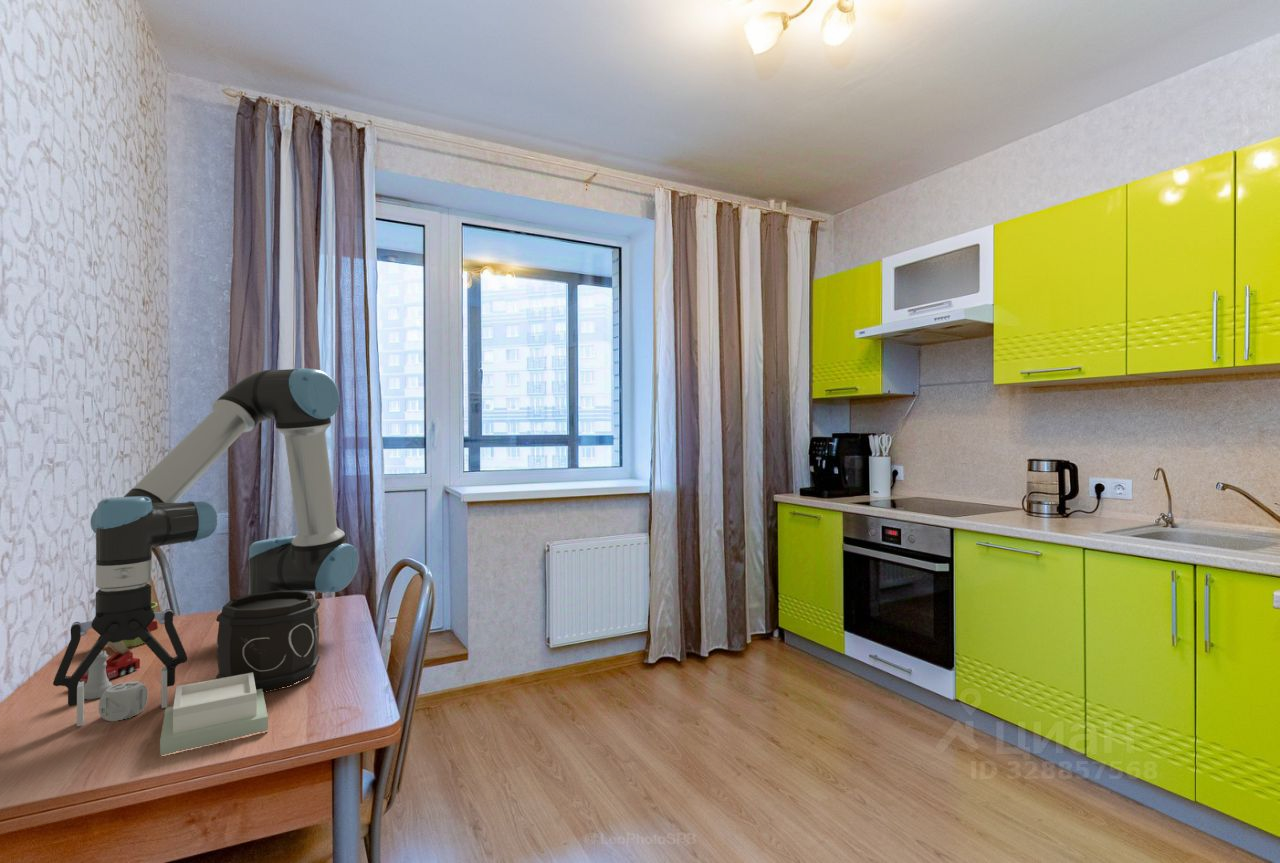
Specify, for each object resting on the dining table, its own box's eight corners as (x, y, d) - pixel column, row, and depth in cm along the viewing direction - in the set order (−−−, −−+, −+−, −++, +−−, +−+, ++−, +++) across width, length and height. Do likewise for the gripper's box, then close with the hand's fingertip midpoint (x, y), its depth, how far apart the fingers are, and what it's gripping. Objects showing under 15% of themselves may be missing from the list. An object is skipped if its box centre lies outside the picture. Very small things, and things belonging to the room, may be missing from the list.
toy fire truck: (76, 687, 122) (76, 637, 122) (145, 662, 135) (145, 617, 135) (90, 688, 121) (90, 638, 121) (157, 663, 135) (158, 618, 135)
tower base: (262, 705, 114) (262, 668, 114) (267, 735, 103) (267, 693, 103) (165, 725, 106) (165, 685, 106) (160, 760, 95) (160, 715, 95)
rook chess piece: (114, 695, 118) (114, 652, 118) (83, 702, 115) (83, 658, 115) (110, 688, 121) (110, 647, 121) (79, 696, 118) (79, 653, 118)
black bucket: (340, 673, 128) (340, 595, 129) (245, 704, 114) (245, 617, 114) (294, 656, 139) (294, 584, 139) (201, 682, 124) (201, 602, 124)
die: (131, 720, 108) (131, 690, 108) (97, 723, 106) (98, 693, 107) (148, 708, 112) (148, 679, 112) (116, 710, 111) (116, 682, 111)
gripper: (29, 601, 99) (28, 742, 99) (206, 580, 114) (205, 703, 114) (35, 592, 105) (34, 725, 105) (202, 573, 120) (202, 690, 119)
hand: (123, 713), depth 109 cm, fingers open, 10 cm apart
